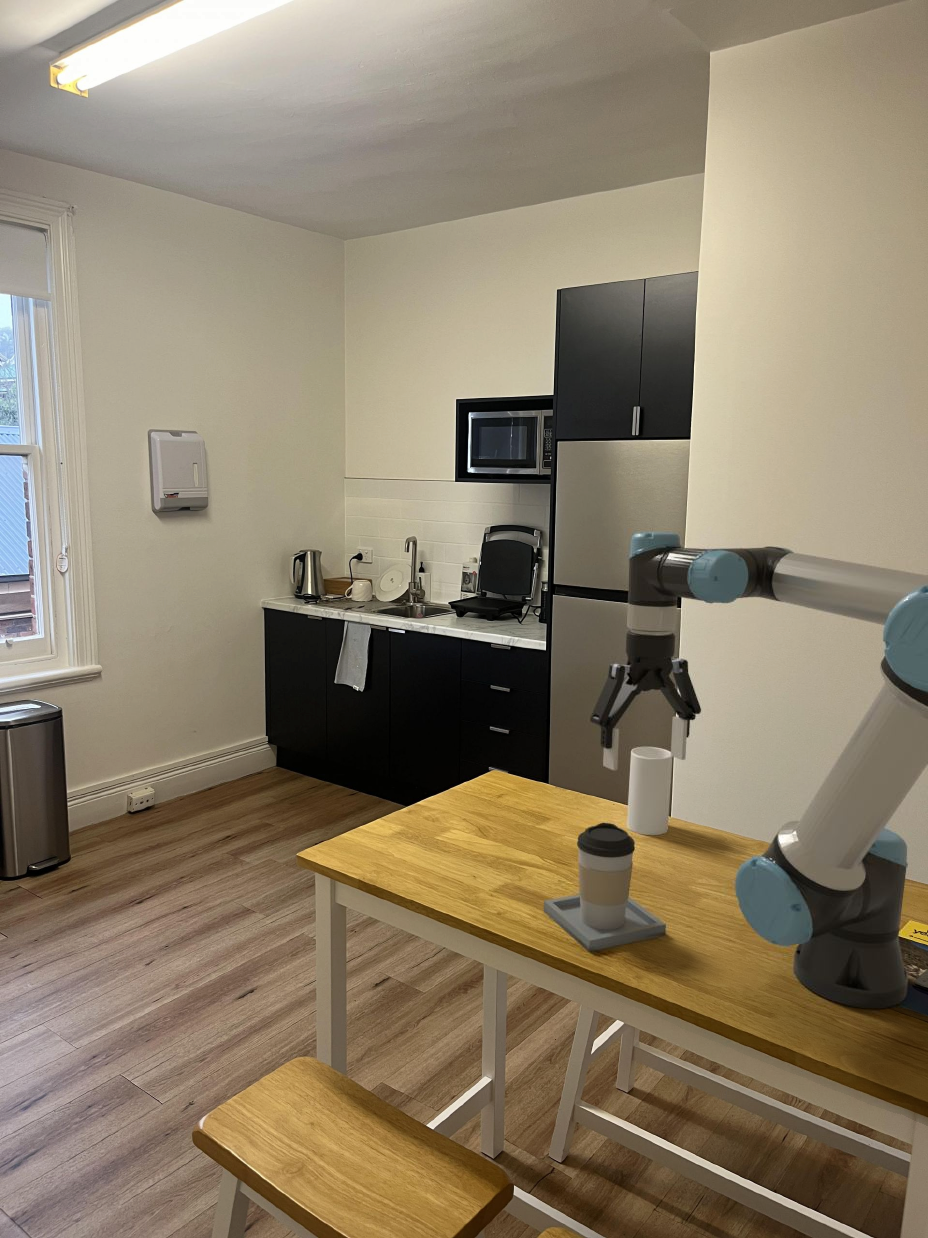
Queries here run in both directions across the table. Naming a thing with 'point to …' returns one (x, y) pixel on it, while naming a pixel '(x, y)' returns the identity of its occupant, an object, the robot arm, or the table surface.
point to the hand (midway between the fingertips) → (644, 762)
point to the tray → (634, 929)
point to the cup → (649, 790)
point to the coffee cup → (604, 875)
